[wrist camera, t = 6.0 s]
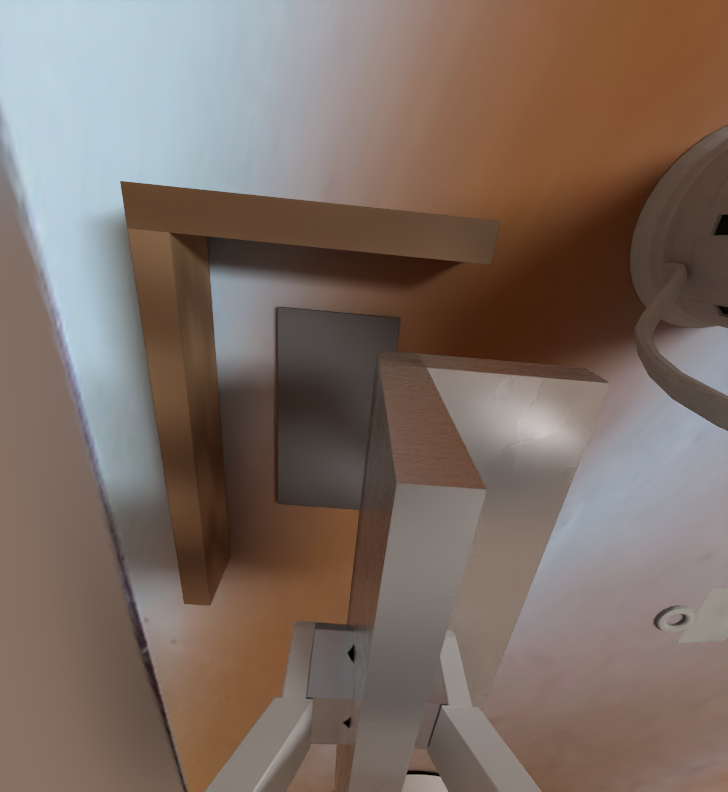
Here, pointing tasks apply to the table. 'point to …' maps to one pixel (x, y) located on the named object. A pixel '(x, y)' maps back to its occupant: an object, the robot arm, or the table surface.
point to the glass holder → (685, 265)
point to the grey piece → (700, 619)
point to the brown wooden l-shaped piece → (297, 350)
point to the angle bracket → (450, 532)
